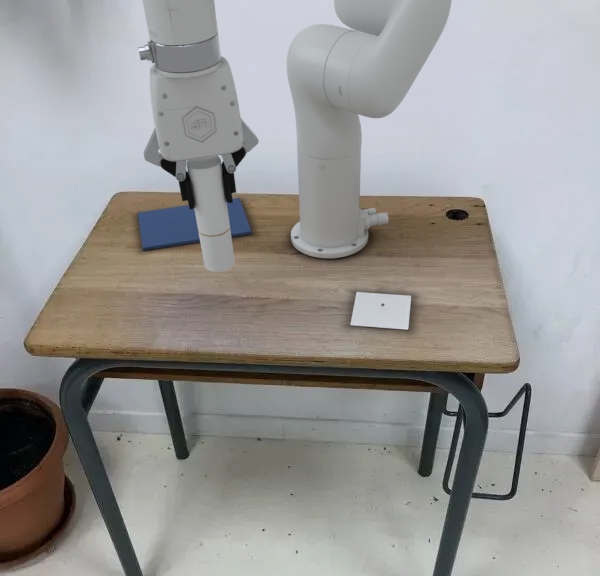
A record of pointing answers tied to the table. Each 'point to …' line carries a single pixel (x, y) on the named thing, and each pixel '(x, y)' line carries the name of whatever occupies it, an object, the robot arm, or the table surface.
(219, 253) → the tube
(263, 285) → the table surface
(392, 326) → the white piece
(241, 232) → the cloth mat
